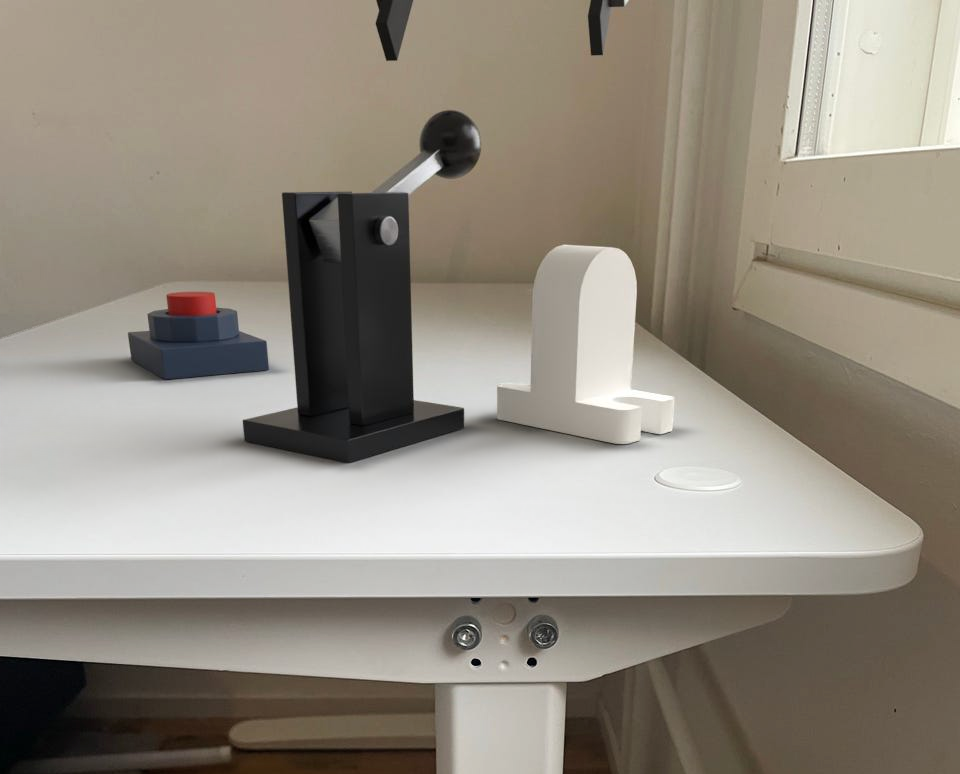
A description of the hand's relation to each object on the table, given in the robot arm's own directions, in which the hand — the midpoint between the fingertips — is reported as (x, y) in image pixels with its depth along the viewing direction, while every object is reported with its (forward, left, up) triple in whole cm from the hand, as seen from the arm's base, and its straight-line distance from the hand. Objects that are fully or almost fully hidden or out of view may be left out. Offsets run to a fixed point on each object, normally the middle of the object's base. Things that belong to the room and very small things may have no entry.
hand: (488, 39), depth 64 cm
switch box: (-23, -7, -21) cm, 32 cm away
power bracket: (+3, -17, -21) cm, 28 cm away
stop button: (-23, -7, -18) cm, 30 cm away
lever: (+3, -12, -10) cm, 16 cm away
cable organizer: (+12, -7, -22) cm, 26 cm away
